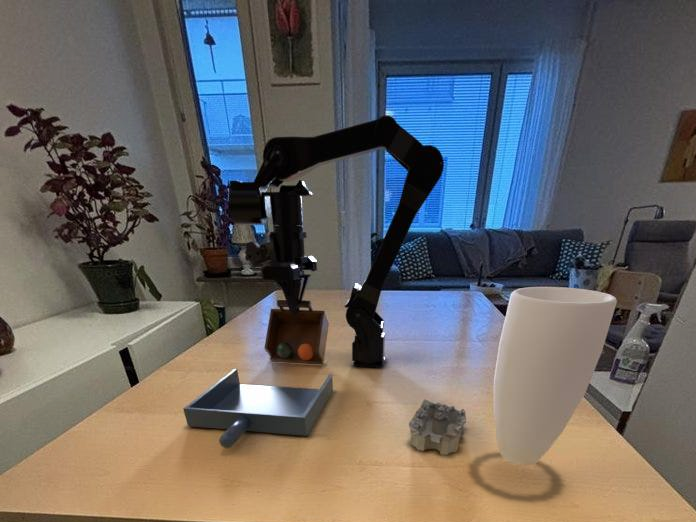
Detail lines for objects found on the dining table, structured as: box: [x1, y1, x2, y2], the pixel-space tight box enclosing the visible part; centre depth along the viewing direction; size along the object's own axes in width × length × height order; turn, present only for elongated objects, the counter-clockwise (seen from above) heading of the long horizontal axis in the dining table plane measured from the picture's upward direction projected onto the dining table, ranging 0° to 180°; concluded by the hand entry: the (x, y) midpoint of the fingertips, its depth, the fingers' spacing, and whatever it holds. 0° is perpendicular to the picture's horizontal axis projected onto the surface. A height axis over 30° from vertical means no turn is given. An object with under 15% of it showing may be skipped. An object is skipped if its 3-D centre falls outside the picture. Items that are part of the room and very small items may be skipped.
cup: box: [493, 286, 618, 466], centre depth 45 cm, size 10×10×22 cm
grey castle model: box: [408, 399, 467, 456], centre depth 59 cm, size 11×8×4 cm
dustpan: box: [183, 368, 334, 449], centre depth 64 cm, size 26×19×3 cm
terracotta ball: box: [298, 344, 314, 360], centre depth 86 cm, size 3×3×3 cm
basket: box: [264, 299, 330, 366], centre depth 85 cm, size 12×10×8 cm
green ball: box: [276, 342, 292, 358], centre depth 87 cm, size 3×3×3 cm
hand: (294, 313), depth 84 cm, fingers closed, pressing on basket
